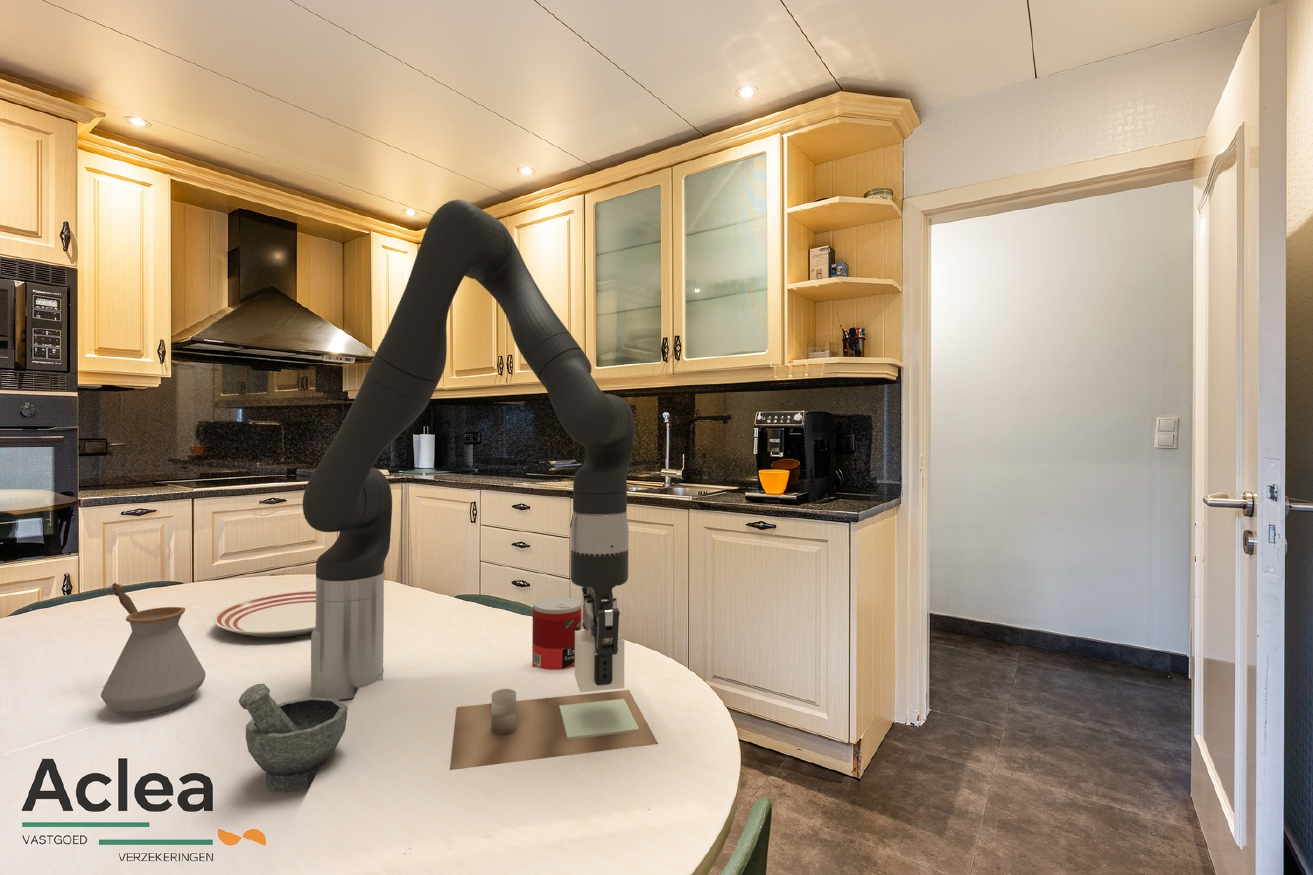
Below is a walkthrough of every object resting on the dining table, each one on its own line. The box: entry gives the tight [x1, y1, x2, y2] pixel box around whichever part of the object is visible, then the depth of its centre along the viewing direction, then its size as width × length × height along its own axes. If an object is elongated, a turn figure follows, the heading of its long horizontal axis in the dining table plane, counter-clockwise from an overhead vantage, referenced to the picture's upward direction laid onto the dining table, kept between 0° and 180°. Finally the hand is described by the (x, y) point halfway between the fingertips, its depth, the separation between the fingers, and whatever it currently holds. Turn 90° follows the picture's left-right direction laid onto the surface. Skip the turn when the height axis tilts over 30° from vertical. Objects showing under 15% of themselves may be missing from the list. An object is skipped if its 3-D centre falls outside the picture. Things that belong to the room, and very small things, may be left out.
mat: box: [559, 699, 639, 740], centre depth 81 cm, size 9×9×1 cm
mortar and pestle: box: [238, 683, 348, 793], centre depth 69 cm, size 11×9×12 cm
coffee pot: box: [100, 582, 206, 717], centre depth 90 cm, size 21×12×15 cm, turn 58°
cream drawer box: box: [574, 629, 625, 693], centre depth 81 cm, size 6×6×6 cm
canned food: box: [531, 596, 582, 671], centre depth 102 cm, size 8×8×11 cm
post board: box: [449, 688, 659, 771], centre depth 80 cm, size 24×16×6 cm, turn 105°
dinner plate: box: [212, 589, 316, 638], centre depth 125 cm, size 28×27×3 cm
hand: (598, 673), depth 81 cm, fingers closed on cream drawer box, 5 cm apart
